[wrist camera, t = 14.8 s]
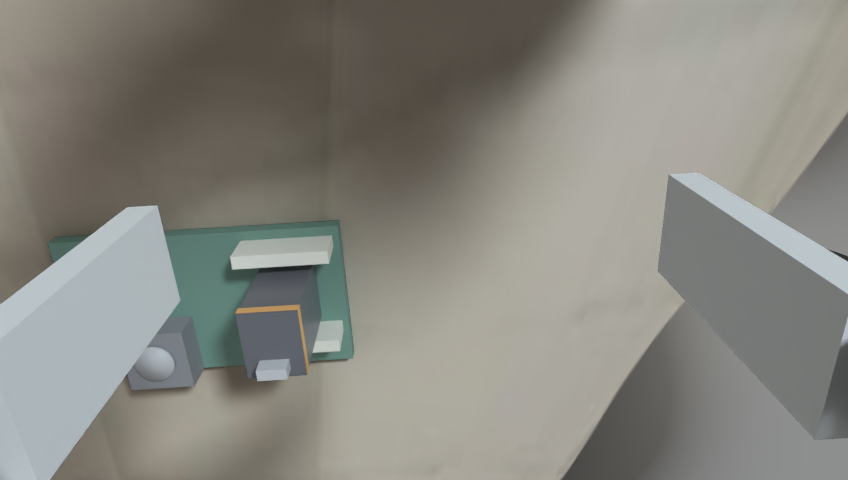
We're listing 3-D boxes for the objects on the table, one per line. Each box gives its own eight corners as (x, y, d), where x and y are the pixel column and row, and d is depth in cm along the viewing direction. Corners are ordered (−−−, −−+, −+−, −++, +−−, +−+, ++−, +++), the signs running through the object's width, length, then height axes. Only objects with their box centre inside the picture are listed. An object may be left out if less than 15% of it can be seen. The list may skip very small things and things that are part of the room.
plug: (261, 262, 45) (229, 323, 37) (314, 259, 45) (294, 320, 37) (271, 319, 47) (243, 390, 39) (322, 316, 47) (304, 386, 39)
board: (55, 237, 45) (23, 259, 41) (339, 220, 45) (333, 241, 42) (97, 366, 50) (71, 397, 46) (354, 350, 50) (350, 380, 46)
